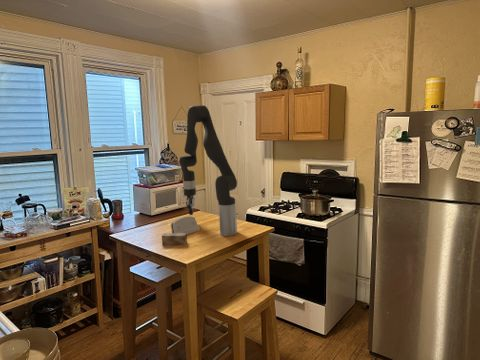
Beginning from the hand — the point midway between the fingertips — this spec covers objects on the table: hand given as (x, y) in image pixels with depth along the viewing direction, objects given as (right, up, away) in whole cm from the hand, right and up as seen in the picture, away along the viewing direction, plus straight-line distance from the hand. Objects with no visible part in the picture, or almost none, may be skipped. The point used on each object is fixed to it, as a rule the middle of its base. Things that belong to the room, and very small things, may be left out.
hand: (191, 214), depth 203 cm
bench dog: (-3, -12, -34) cm, 37 cm away
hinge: (-1, -9, -16) cm, 18 cm away
